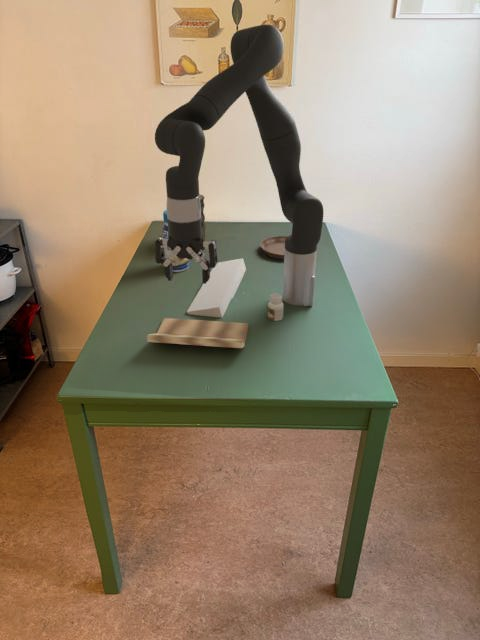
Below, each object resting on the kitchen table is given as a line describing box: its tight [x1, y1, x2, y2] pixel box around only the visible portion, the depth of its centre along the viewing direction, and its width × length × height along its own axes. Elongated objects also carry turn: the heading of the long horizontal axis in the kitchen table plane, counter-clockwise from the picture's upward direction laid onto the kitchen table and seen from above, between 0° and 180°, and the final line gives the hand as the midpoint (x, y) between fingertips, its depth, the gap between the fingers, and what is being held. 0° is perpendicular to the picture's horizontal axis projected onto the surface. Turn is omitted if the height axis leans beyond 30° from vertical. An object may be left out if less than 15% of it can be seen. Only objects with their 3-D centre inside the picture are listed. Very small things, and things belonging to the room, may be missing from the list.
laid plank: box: [156, 317, 250, 342], centre depth 139 cm, size 24×8×2 cm, turn 83°
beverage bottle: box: [162, 209, 190, 273], centre depth 171 cm, size 8×8×20 cm
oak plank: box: [146, 332, 246, 349], centre depth 131 cm, size 24×8×2 cm, turn 83°
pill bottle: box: [267, 292, 284, 322], centre depth 144 cm, size 4×4×8 cm
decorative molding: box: [186, 257, 247, 319], centre depth 160 cm, size 34×5×10 cm
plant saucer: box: [260, 235, 289, 260], centre depth 187 cm, size 18×18×3 cm
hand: (187, 280), depth 121 cm, fingers open, 8 cm apart
